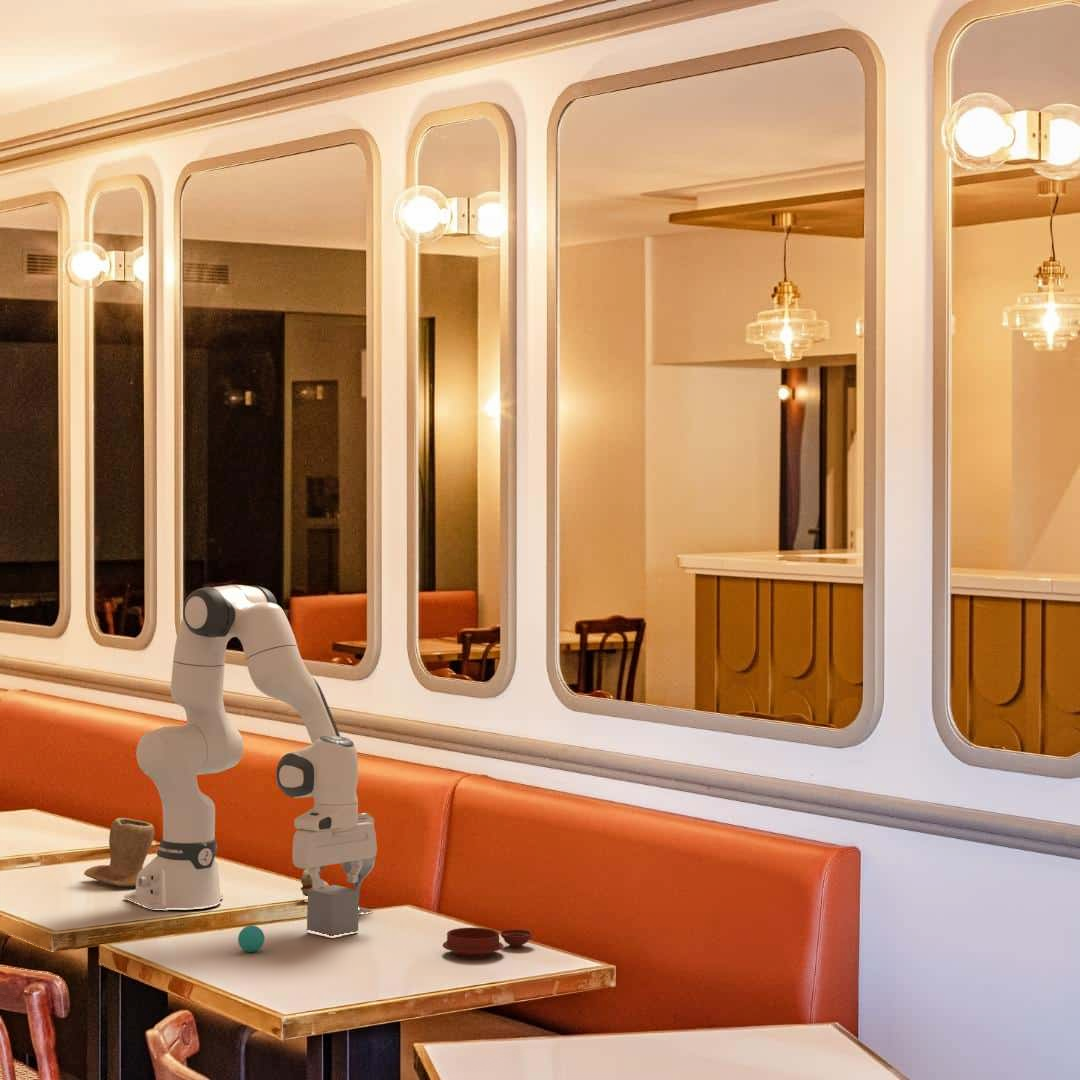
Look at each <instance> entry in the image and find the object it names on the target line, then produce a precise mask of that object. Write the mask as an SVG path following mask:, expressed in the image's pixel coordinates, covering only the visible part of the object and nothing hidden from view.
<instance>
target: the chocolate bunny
mask: <svg viewBox="0 0 1080 1080" xmlns="http://www.w3.org/2000/svg"><path fill="white" fill-rule="evenodd" d="M324 868H325V866H320V872H318V874H319V877H320V879H322V878H321V877H322V876H321V873H322V871H323V869H324ZM301 885H302V887H300V891H302V895H303V896H304V895H305V896H308V890H309V889H313V887H312V879H311V877H310V875H309V873H308V869H303V871H302V874H301ZM323 885H324V887H326V886H330V885H329V883H328V882H327V881H325V880H324V883H323Z"/></svg>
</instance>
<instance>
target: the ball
mask: <svg viewBox="0 0 1080 1080" xmlns="http://www.w3.org/2000/svg"><path fill="white" fill-rule="evenodd" d="M237 941H238V945H239V947H240V948H241V949H242V950H243V951H244V952H246V951H247V953H254V951H255V952H258V951H259V950H260V949H262V947H263V945H264V942H265V934H264V931H263V930H262V929H261V928H260V927H258V926H256V925H247V926H245V927H244V928H242V929H241V930H240V932H239V934H238V937H237Z"/></svg>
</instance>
